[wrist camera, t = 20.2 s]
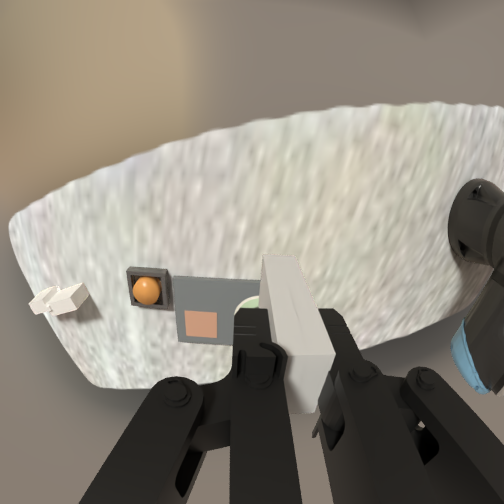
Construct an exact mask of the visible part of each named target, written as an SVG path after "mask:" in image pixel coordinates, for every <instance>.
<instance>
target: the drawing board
mask: <svg viewBox="0 0 504 504" xmlns="http://www.w3.org/2000/svg"><path fill="white" fill-rule="evenodd" d="M260 281H261V280H242V279H222V278H204V277H188V276H173V289H174V302H175V314H176V324H177V334H178V341H180V342H191V343H204V344H219V345H233V331H234V315H235V314H236V312H237V311H238V310H239V308H255V307H259V306H258V303H259V292H260Z"/></svg>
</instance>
